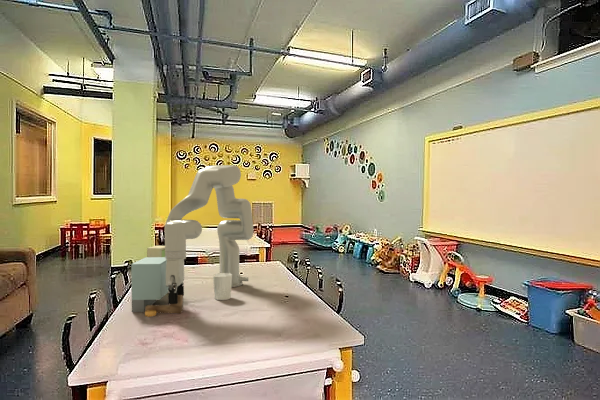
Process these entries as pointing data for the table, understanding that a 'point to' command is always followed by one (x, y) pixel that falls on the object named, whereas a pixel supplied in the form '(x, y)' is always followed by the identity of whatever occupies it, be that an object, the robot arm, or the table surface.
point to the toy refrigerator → (156, 251)
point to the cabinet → (148, 282)
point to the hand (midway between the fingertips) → (176, 299)
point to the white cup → (222, 286)
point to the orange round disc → (150, 313)
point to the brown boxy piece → (168, 307)
